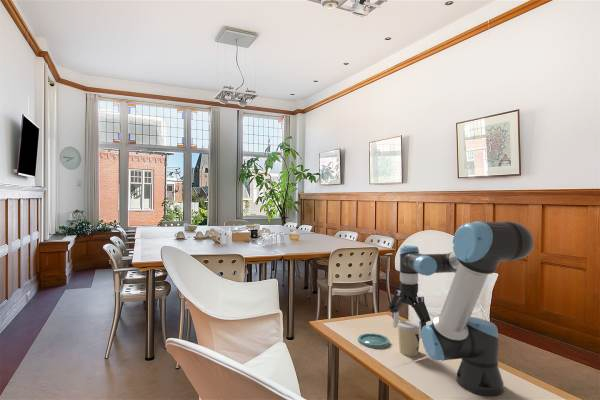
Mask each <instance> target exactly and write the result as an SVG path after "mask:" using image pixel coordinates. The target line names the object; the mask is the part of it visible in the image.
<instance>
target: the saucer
mask: <svg viewBox="0 0 600 400" xmlns="http://www.w3.org/2000/svg"><path fill="white" fill-rule="evenodd" d="M357 342H358V343H359V344H360V345H362V346H364V347H367V348H371V349H384V348H388V347H389V346H390V339H389V338H388V337H387V336H385V335H382V334H381V333H380V334H379V333H370V332H369V333H362V334H360V335H358V337H357Z"/></svg>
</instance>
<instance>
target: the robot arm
mask: <svg viewBox="0 0 600 400" xmlns="http://www.w3.org/2000/svg"><path fill="white" fill-rule="evenodd" d="M452 245H453V246H452V250H453V251H451V252H449V253H425V254H424V253H420V251H419V247H418V246H417V245H401V247H400V248H399V250H400V251H399V281H400V282H399V289H398V290H397V289H395V290H394V294H393V297H392V300H391V302H390V304H389V306H388V309H389V310H391V311H392V320H393V323H392V325H393V326H392V327H393V328H394V329H395V328H398V323H399V322H400V312H399V310H400V308H401V307H402V306H403V305H408V306H411V307H412V308H413V309H414V312H415V313H416V315H417V317H418V319H419V321H418V324H419V338H420V339H421V340H422V341H421V342H422V345H423V347H424V351H425V353H426V355H428V356H429V358H430V359H432V360H434V361H443V362H444V361H451V360H461V361H460V364H459V366H458V369H457V372H456V382H457V384H458V385H459V386H460V387H461V388H463V389H464V390H465V391H468V392H470V393H473V394H476V395H482V396H491V397H493V396H498V395H501V394H502V393H503V392H504V390H505V389H504V387H505V386H504V385H505V383H504V381H503V377H502V375H501V372H500V368H499V332H498V327H497V325H496V324H495V323H494V322H491V321H488V320H487V319H482V318H479V317H475V316H472V313H473V311H474V309H475V306H476V304H477V301H478V299H479V297H480V294H481V292H482V290H483V287H484V285H485V282H486V281H487V278H488V275H492V274H495V272H496V271H497V268H498V267H499V264H500V262H510V261H517V260H518V261H519V260H522V259H523V258H524V259H525V258H526V257H527V256H529V255H530V254H531V253H532V250H533V249H534V237H533V235H532V233H531V231H530V230H529V229H528V228H527V227H526V226H524V225H522V224H520V223H518V222H514V221H487V222H485V221H480V220H479V221H473V222H466V223H463V224H462V225H461V226H459V227H458V228H457V229H456V230H455V232H454V236H453V239H452ZM443 273H445V274H447V273H454V275H453V280H452V281H451V285H450V286H449V290H448V293H447V296H446V299H445V301H444V303H443V305H442V309H441V311H440V313H438V314H437V315H435V316H434V317H433V319H432V323H431V324H427V323H429V322H431V316H430V315H429V312H428V309H427V305H426V303H425V297H424V296H418V292H419V283H418V282H419V275H422V276H428V277H429V276H432V275H433V274H443Z"/></svg>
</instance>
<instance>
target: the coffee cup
mask: <svg viewBox="0 0 600 400" xmlns="http://www.w3.org/2000/svg"><path fill="white" fill-rule="evenodd" d="M397 333H398V334H397V335H398V345H399V347H398V348H399V349H398V350H399V353H400V354H401V355H403V356H407V357H416V356H418V355H419V352H420V351H419V350H420V339H421V338H419V322H417V321H413V320H399V323H398V327H397Z"/></svg>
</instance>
